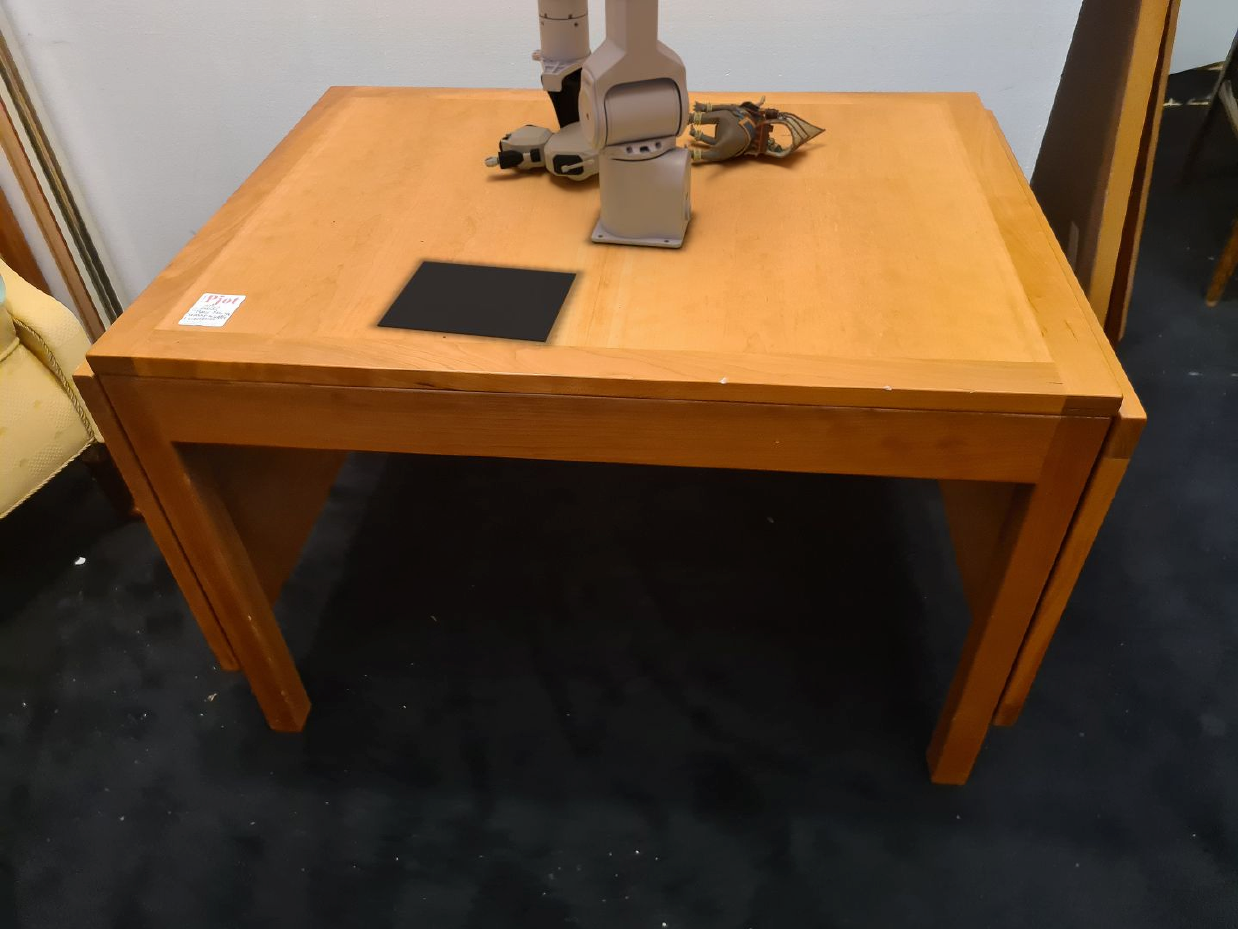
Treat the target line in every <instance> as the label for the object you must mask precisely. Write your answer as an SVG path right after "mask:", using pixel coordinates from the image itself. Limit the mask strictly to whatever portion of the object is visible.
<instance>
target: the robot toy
mask: <svg viewBox="0 0 1238 929" xmlns="http://www.w3.org/2000/svg"><path fill="white" fill-rule="evenodd" d="M498 149H499V151H497V156H494V155H491V156H486V157H485V159H484V165H485V166H486V167H487V168H495V167H497V166H498V165H499V168H500V170H505V169H506V170H507V169H514V168H517V167H518V169H519V170H531V168H542V167H546V169H547V170H548V171H549V172H550V173H551V174H553V175H555V176H556V177H567V178H569V179H570V180H573V181H577V182H580V181H584V180H586V179H588V178H589V177H591V176H593V175H595V174H596V175H597V174H599V153H598V150H594V149H593V148H592V147H591V146H590V145H589V144H588V143H587V142H586V140H585V137H584V135H583V132H582V128H581V123H580V121H579V122H576V123H572V124H569V125H567V126H565V127H563V128H561V129H560V128H559V129H558V130H557V131H556V132H553V131H552V130H551V129H550V128H549V127H543V126H538V125H534V124H526V125H524V126H521V127H519V128H516V129H515V130H514V131H510V132H508V133H506V134H505V136H504V137H502V138H500V140H499V142H498Z"/></svg>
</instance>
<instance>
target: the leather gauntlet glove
mask: <svg viewBox="0 0 1238 929" xmlns="http://www.w3.org/2000/svg"><path fill="white" fill-rule="evenodd" d="M710 102H711V101H709V102H706V103H701V102H698V101H696V100H694V103H695V104H693V105H692V107H693V108H692V109H691V110H692V111H693V113H691V112H690V113H689V121H688V125H687V126H689V125H690V130H689V132H688V136H691V137H692V138H693V139H694V140H695V142H703V143H704V144H706V145H709V146H708V148H709V150H706V151H705V150H701V149H700V148H698V147H696V148H693V149H692V150H691V160H692V162H695V163H697V162H701V161H702V160H703V161H713V162H723V161H725V160H728V159H729V158H731V157H734V158H736V157H738V156H740V155H741V154H743V153H744V152H745V151H746V150H747V151H746V152H745V153H744V156H746V155H754V157H757V156H758V155H761V154H764V155H766V156H771V157H773V158H778V159H784V158H786V157H787V156H789V155H790V154H791V153H793V152H795V151H796V150H798V149H799V148H800V147H802V146H803V145H804V144H806V143H808V142H809V141H811V140H813V139H815V138H816V137H819V135H821V134H823V133H825V132H826V128H822V127H819V126H817V125H814V124H812V123H810V122H808V121H807V120H804V119H803V118H802V117H800V116H798V115H796V114H794V113H792V112H789V111H779V109H776V108H774V107H773V108H770V107H768V108H766V107H761V106H764V104H765V102H766V95H762V96H761V98H760V100H759V102H757V103H754V102H752V101H750V100H745V101H743V102H742V103H740V104H735V103H730V104H725V103H721V104H712V103H710ZM704 125H715V127H714V136H712V135H707V134H705V133H704V132H703V131H702V129H695V127H694V126H704ZM774 125H783V126H785V127H786V128H787V129H788V131H789V133H790V134H781V135H780V137H791V140H792V142H791V145H790V146H787V147H786V146H784V148H783V147H782V145H781V144H779V143H777V142H776V139H775V138H774V137H771V135H770V133H774V129H775V128H774ZM750 147H752V148H750ZM683 148H688V149H690V148H689V146H687V143H684V144H683ZM749 148H750V149H749ZM748 149H749V150H748Z"/></svg>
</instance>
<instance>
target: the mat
mask: <svg viewBox="0 0 1238 929" xmlns="http://www.w3.org/2000/svg"><path fill="white" fill-rule="evenodd" d="M576 275H577V273H575V272H564V271H563V272H562V271H552V270H551V271H549V270H538V269H525V268H513V267H502V266H501V267H500V266H489V265H477V264H467V263H466V264H465V263H464V264H463V263H451V262H440V261H428V260H423V262H422V263H421V264H420V265H419V267H418V268H417V270H416V271H415V272H414V273H413V275H412V276H411V277H410V279H409V280H408V282H407V283H406V285H405V286H404V287H403V289H402V290H401V291H400V293H399V294H398V296H397V297H396V298H395V300H394V301H393V302H392V304H391V305H390V307H389V308H388V309H387V311H386V312H385V313H384V315H383V316H382V318H381V319H380V320H379V322H378V323H377V327H386V328H394V329H395V328H397V329H406V330H416V331H417V330H418V331H429V332H436V333H437V332H438V333H449V334H459V335H470V336H481V337H492V338H502V339H512V340H513V339H514V340H520V341H521V340H522V341H533V342H544V343H545V342H547V339H548V336H549V335H550V332H551V330H552V328H553V326H554V324H555V321H556V319H557V317H558V315H559V313H560V310H561V308H562V306H563V304H564V302H565V299H566V298H567V295H568V293H569V291H570V288H571V286H572V284H573V282H574V280H575V278H576Z"/></svg>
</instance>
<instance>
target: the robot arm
mask: <svg viewBox="0 0 1238 929" xmlns="http://www.w3.org/2000/svg"><path fill="white" fill-rule="evenodd" d="M536 2H537V11H538V21H539V22H538V25H539V37H540V39H539V40H540V49H535V50H534V51H533V52H532V53H531V60H532V61H536V62H540V65H541V68H542V73H541V75H540V83H541V85H542V90H543V91H544V92H546V93H547V94H548V97H549V99H550V101H551V103H552V106H553V109H554V113H555V115H556V119H557V123H558V126H559V130H560V129H561V128H563V127H565V126H567V125H569V124H572V123H576V122H579V121H580V123H581V128H582V132H583V135H584V137H585V140H586V142H587V143H588V144H589V145H590V146H591V147H592V148H593V149H594V150H598V153H599V172H598V175H599V176H598V179H599V202H600V216H599V219H598V220H597V223H596V225H595V227H594V229H593V231H592V233H591V236H590V240H591V241H592V242H597V243H610V244H620V245H621V244H623V245H636V246H647V247H648V246H650V247H662V248H675V249H677V248H681V247H682V244H683V242H684V237H685V235H686V234H685V233H686V230H687V228H688V224H689V221H690V218H691V213H692V204H691V189H692V188H691V187H692V158H691V151H692V149H691V148H689V147H688V148H689V149H688V148H684V146H683V147H681V146H679V145H677V139H678V138H680V137H682V136H683V135H684V133H685V131H686V129H687V127H688V126H689V125H688V121H689V113H691V112H690V109H691V108H690V106H691V105H690V96H689V92H688V88H687V87H688V86H687V69H686V66H685V63H684V62H683V59H682V58H681V56H680V55H679V54H678V53H677V52H676V51H675V50H673V49H672V48H670V47H669V46H668V45H666V44H665V43H663V42H662V40H661V41H660V39H658V38H659V37H658V36H659V34H658V33H659V0H604V14H605V15H604V16H605V17H604V19H605V20H604V21H605V39H604V40H603V41H602V42H601V44H599V46H598V47H597V48H596V49H594V51H592V50H591V46H590V22H589V0H537V1H536Z"/></svg>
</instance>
